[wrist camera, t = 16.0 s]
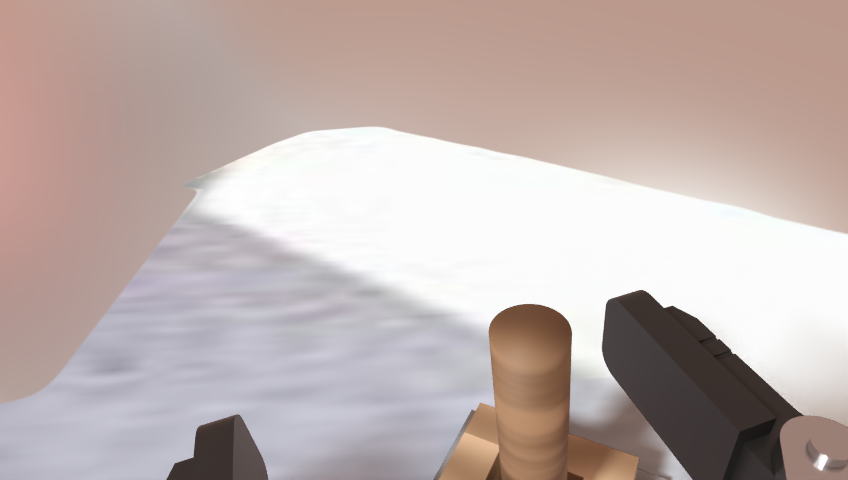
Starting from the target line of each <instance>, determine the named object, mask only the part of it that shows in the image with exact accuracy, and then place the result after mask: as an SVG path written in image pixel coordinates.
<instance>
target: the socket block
mask: <svg viewBox="0 0 848 480" xmlns="http://www.w3.org/2000/svg"><path fill="white" fill-rule="evenodd" d="M638 461H639V457H636V456H633V455H630V454H627V453H624V452H621V451H619V450H616V449H613V448H610V447H607V446H604V445H601V444H598V443H596V442H593V441H590V440H587V439H584V438H581V437H578V436H575V435H572V434H570V433H569V438H568V469H567V480H667V479H665V478H662V477H659V476H656V475H653V474H651V473H648V472H645V471H642V470H639V469H637V467H638ZM434 480H502V478H501V467H500V455H499V444H498V432H497V421H496V409H495V408H494V407H492V406H489V405H486V404H483V403H480V404H479V406H478V408H477V410H476V411H474V410H472V411H471V412H470V414H469V416H468V418H467V420H466V422H465V423H464V425H463V427H462V429H461V431H460V432H459V434H458V436H457V438H456V440H455V442H454V443H453V445H452V447H451V449H450V451H449V452H448V454H447V456H446V458H445V460H444V462H443V463H442V465H441V467H440V469H439V471H438V472H437V474H436V476H435V478H434Z"/></svg>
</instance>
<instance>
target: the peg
mask: <svg viewBox="0 0 848 480" xmlns="http://www.w3.org/2000/svg"><path fill="white" fill-rule="evenodd" d="M489 341H490V352H491V364H492V375H493V386H494V398H495V409H496V421H497V432H498V444H499V455H500V467H501V478H502V480H567V469H568V438H569V407H570V375H571V344H572V330H571V327H570V324H569V322H568V321H567V320H566V318H565V317H564V316H563V315H561V314H560V313H559V312H557V311H555V310H553V309H551V308H549V307H546V306H542V305H535V304H523V305H517V306H513V307H510V308H507V309H505V310H503V311H502V312H500V313H499V314H498V315H497V316H496V317H495V318H494V319H493V320H492V322H491V324H490V327H489Z"/></svg>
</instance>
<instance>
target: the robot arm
mask: <svg viewBox="0 0 848 480" xmlns="http://www.w3.org/2000/svg"><path fill="white" fill-rule="evenodd" d="M602 352H603V357H604V360H605V363H606V365H607V367H608V369H609V371H610V373H611V374H612V376H613V377H614V378H615V379H616V381H617V382H618V383H619V385H620V386H621V387H622V389H623V390H624V391H625V392H626V394H627V395H628V396H629V398H630V399H631V400H632V401H633V403H634V404H635V405H636V407H637V408H638V409H639V411H640V412H641V413H642V414H643V416H644V417H645V418H646V420H647V421H648V422H649V423H650V425H651V426H652V427H653V429H654V430H655V431H656V432H657V434H658V435H659V436H660V438H661V439H662V440H663V442H664V443H665V444H666V445H667V447H668V448H669V449H670V451H671V452H672V453H673V454H674V456H675V457H676V458H677V460H678V461H679V462H680V464H681V465H682V466H683V467H684V469H685V470H686V471H687V473H688V474H689V475H690V476H691V478H692V479H693V480H848V427H846V426H844V425H842V424H840V423H838V422H835V421H833V420H830V419H826V418H823V417H817V416H804V415H802V414H801V413H800V412H798V411H797V410H796V409H795V408H793V407H792V406H791V405H790V404H789V403H788V402H787V401H786V400H785V399H784V398H782V397H781V396H780V395H779V394H778V393H777V392H776V391H775V390H774V389H773V388H772V387H771V386H769V385H768V384H767V383H766V382H765V381H764V380H763V379H762V378H761V377H760V376H759V375H758V374H757V373H755V372H754V371H753V370H752V369H751V368H750V367H749V366H748V365H747V364H746V363H745V362H744V361H742V360H741V359H740V358H739V357H738V356H737V355H736V354H732V352H731V349H729V348H728V347H727V346H726V345H725V344H724V343H723V342H722V341H721V340H720V339H718V340H717V339H716V336H715V335H714V334H713V333H712V332H711V331H710V330H709V329H708V328H707V327H706V326H705V325H704V324H702V323H701V322H700V321H699V320H698V319H697V318H695V317H693V316H691V315H689V314H687V313H685V312H683V311H681V310H679V309H678V308H676V307H674V306H670V307H667V308H663V307H662V306H661V305H660V304H659V303H658V302H657V301H656V300H655V299H654V298H653V297H652V296H651V295H650V294H649V293H647V292H646V291H643V290H639V291H635V292H632V293H629V294H625V295H622V296H619V297H616V298H612V299H610V300H608V302H607V304H606V311H605V321H604V332H603V342H602ZM167 480H268V475H267V471H266V467H265V463H264V461H263V458H262V456H261V454H260V452H259V450H258V448H257V446H256V444H255V442H254V440H253V438H252V437H251V435H250V433H249V431H248V429H247V427H246V425H245V423H244V421H243V419H242V417H241V416H240V415H238V414H237V415H234V416H231V417H227V418H224V419H221V420H217V421H214V422H211V423H208V424H204V425H201V426H199V427H198V429H197V431H196V437H195V448H194V458H191V459H188V460H184V461H181V462H178V463H175V464H174V466H173V468H172V470H171V472H170V474H169V476H168V478H167Z"/></svg>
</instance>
